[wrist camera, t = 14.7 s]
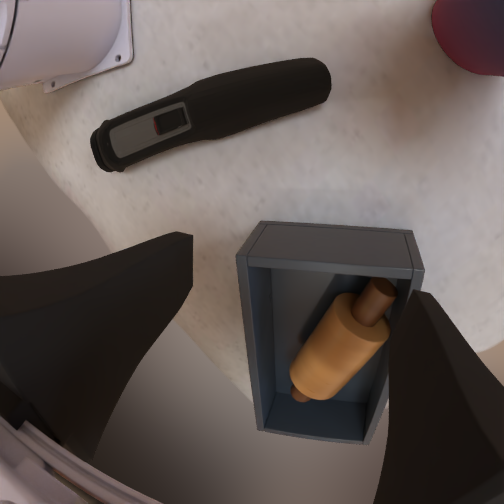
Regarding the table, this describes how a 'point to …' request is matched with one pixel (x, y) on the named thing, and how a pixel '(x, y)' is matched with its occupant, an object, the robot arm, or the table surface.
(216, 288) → the table surface
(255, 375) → the tin
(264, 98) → the electric trimmer
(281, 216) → the table surface
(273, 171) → the table surface
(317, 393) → the rolling pin
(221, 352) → the table surface
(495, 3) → the cup
